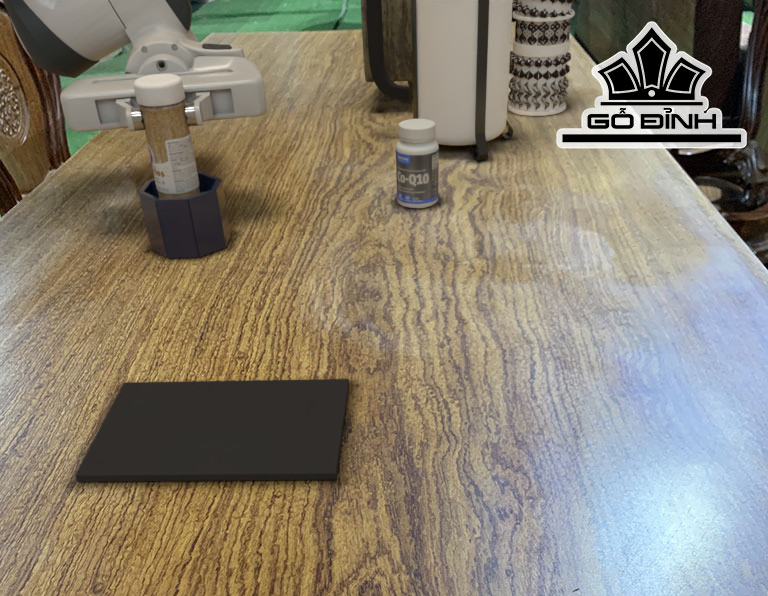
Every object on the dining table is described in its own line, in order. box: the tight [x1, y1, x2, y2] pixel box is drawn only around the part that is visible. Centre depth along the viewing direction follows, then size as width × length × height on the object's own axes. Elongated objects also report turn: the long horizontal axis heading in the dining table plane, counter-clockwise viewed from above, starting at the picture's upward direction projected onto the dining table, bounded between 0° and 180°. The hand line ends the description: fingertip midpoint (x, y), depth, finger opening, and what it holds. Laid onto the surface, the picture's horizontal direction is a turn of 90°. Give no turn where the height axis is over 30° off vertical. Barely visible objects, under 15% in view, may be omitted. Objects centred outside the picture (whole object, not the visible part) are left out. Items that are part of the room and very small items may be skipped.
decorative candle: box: [507, 0, 578, 117], centre depth 112 cm, size 9×9×25 cm
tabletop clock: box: [360, 0, 413, 112], centre depth 118 cm, size 14×9×25 cm, turn 175°
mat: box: [75, 378, 350, 483], centre depth 61 cm, size 18×12×1 cm, turn 88°
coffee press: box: [366, 0, 514, 162], centre depth 99 cm, size 17×16×30 cm
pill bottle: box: [395, 118, 440, 209], centre depth 91 cm, size 5×5×8 cm
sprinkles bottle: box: [133, 74, 200, 198], centre depth 82 cm, size 5×5×14 cm
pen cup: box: [137, 171, 232, 259], centre depth 86 cm, size 8×8×6 cm
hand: (164, 119), depth 79 cm, fingers closed on sprinkles bottle, 4 cm apart
